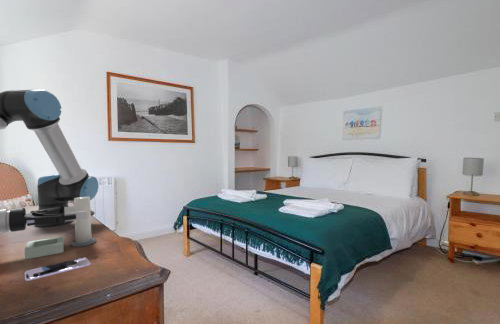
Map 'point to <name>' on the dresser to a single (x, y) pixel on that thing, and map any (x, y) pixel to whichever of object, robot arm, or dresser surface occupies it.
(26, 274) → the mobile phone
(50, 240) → the holder
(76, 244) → the coaster
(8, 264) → the dresser surface
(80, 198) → the grey tall block
